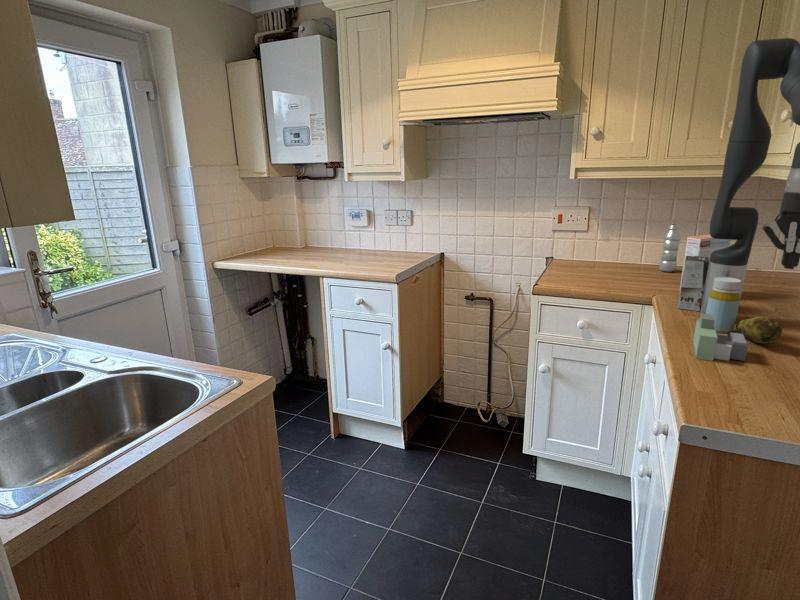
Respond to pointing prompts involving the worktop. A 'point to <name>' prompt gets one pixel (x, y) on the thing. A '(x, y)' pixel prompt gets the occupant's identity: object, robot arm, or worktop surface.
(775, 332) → the potato
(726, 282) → the bottle
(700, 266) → the coffee box
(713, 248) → the cracker box
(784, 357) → the worktop surface
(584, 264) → the worktop surface
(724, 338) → the grey stepped block
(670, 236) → the plastic bottle
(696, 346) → the green block cluster
